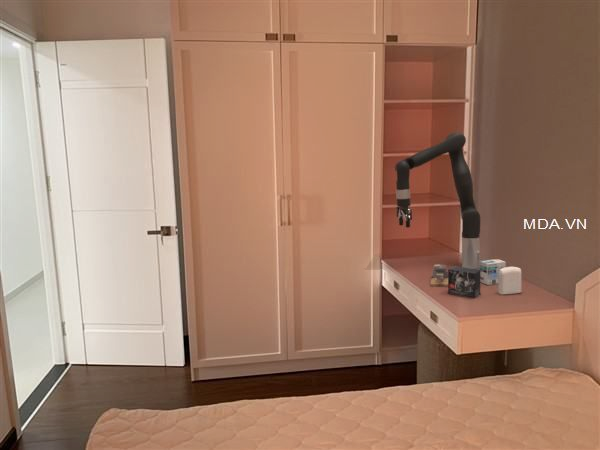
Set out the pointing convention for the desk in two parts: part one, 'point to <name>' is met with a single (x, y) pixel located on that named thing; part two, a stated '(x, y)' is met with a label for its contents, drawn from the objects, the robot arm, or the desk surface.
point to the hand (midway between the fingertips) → (404, 226)
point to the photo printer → (509, 280)
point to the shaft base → (437, 284)
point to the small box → (464, 281)
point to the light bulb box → (491, 270)
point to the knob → (440, 271)
